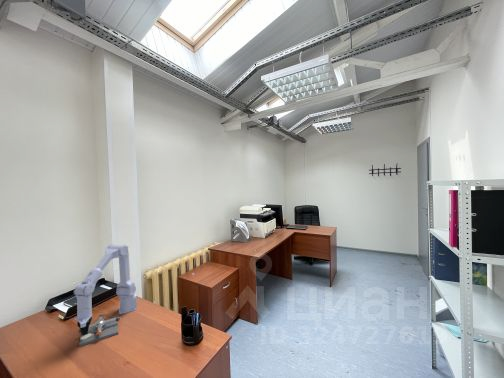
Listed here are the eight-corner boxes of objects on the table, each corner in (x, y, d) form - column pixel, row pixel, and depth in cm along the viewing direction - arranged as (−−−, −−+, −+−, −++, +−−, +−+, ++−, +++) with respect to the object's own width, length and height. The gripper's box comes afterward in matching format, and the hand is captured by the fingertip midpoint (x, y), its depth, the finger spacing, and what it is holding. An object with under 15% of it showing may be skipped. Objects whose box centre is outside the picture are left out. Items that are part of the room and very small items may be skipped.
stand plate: (117, 318, 126) (117, 316, 126) (118, 334, 112) (118, 331, 112) (82, 328, 117) (82, 326, 117) (78, 347, 103) (78, 344, 103)
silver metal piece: (119, 314, 127) (119, 308, 127) (120, 331, 112) (120, 324, 112) (80, 325, 117) (80, 318, 117) (75, 346, 102) (75, 338, 102)
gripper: (76, 303, 111) (76, 329, 111) (72, 317, 99) (72, 346, 99) (93, 299, 115) (93, 324, 115) (90, 312, 103) (91, 340, 103)
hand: (85, 333), depth 108 cm, fingers closed
